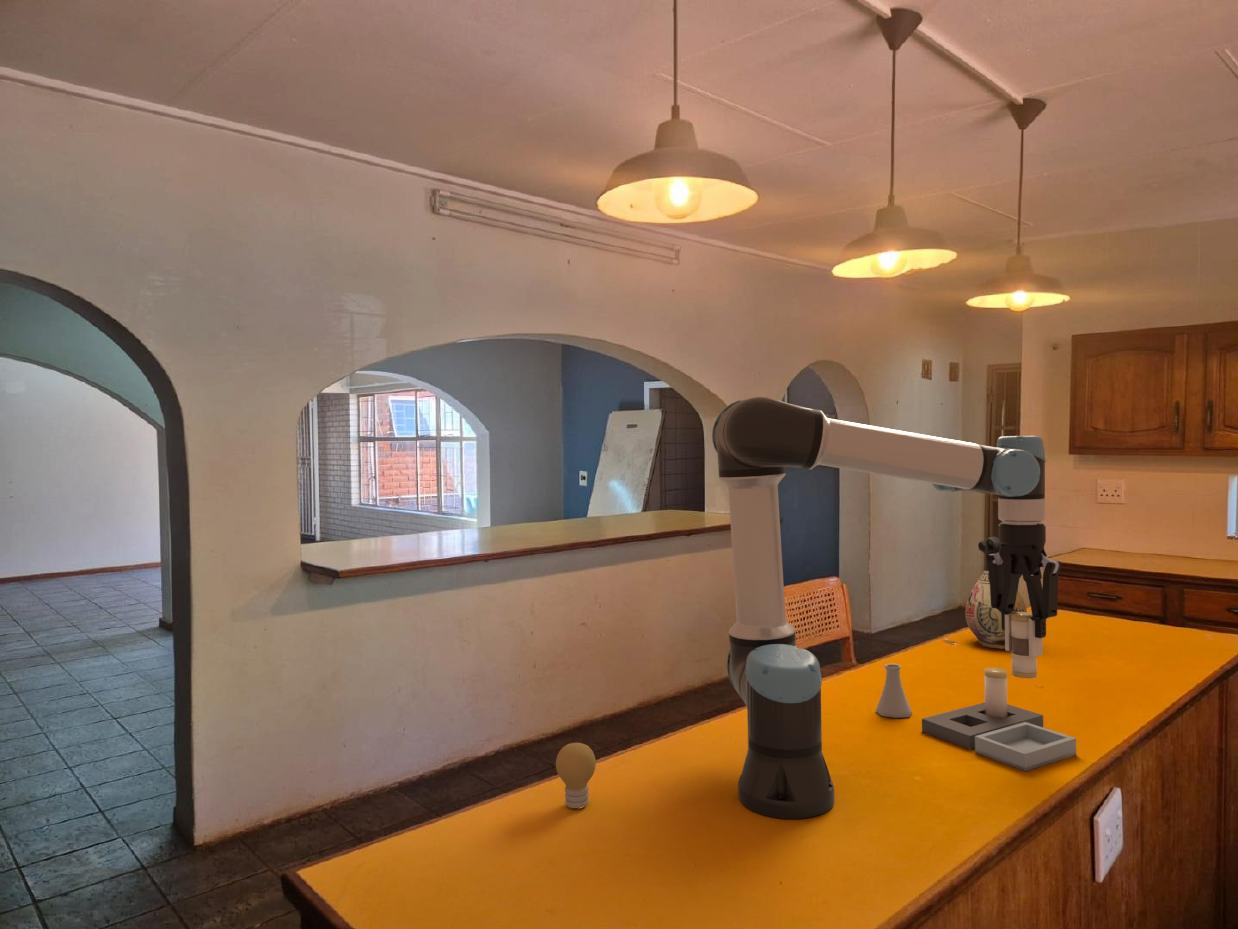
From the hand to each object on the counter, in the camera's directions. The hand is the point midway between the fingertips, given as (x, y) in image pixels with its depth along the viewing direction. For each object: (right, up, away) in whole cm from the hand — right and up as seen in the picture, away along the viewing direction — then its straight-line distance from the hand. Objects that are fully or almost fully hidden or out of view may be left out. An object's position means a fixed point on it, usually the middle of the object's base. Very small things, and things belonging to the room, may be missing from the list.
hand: (1023, 652), depth 146 cm
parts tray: (0, -18, 0) cm, 18 cm away
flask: (-15, -18, +24) cm, 34 cm away
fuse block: (-2, -18, +13) cm, 22 cm away
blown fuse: (0, -4, 0) cm, 4 cm away
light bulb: (-79, -21, -16) cm, 83 cm away
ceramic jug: (+30, -16, +75) cm, 82 cm away
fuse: (+2, -18, +15) cm, 23 cm away
